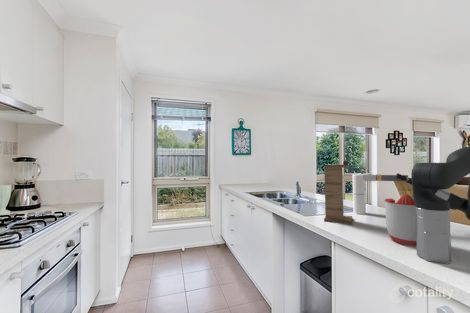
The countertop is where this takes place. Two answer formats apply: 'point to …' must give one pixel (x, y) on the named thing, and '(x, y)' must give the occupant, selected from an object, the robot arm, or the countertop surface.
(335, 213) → the stand
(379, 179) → the cord plug
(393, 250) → the countertop surface
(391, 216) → the citrus juicer
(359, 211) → the cylindrical container
